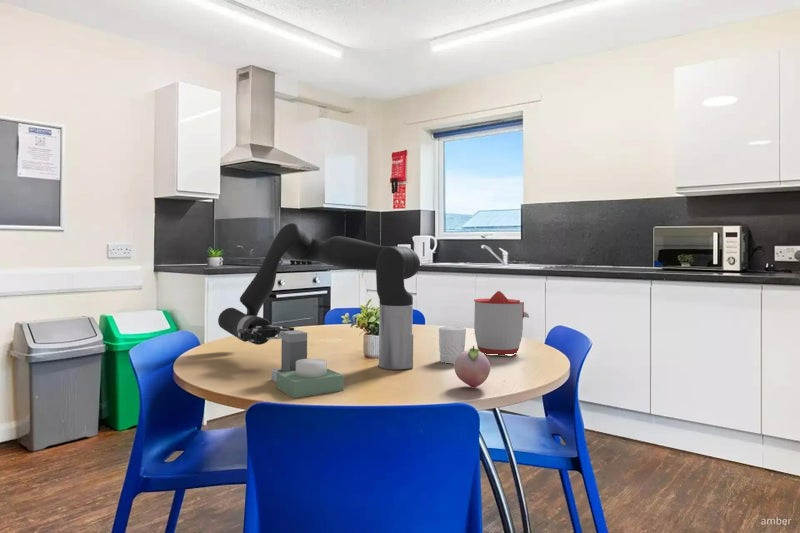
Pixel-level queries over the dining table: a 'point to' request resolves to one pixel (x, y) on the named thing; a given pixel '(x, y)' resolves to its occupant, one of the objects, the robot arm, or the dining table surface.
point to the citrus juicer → (498, 324)
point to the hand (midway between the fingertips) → (276, 336)
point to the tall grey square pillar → (293, 349)
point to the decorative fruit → (472, 367)
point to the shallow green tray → (308, 379)
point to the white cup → (451, 342)
